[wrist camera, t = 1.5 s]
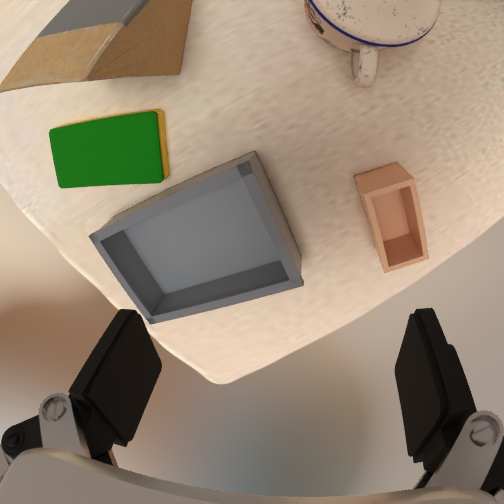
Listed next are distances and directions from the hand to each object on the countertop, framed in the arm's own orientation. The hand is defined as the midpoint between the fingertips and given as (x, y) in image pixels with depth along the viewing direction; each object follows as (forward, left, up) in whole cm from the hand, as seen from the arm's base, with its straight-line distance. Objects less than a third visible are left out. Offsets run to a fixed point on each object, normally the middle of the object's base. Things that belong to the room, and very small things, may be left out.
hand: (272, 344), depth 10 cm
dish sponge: (+16, -10, -22) cm, 29 cm away
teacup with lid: (-11, -11, -22) cm, 26 cm away
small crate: (-8, +7, -21) cm, 24 cm away
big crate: (+11, +3, -21) cm, 25 cm away
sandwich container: (+5, -21, -22) cm, 31 cm away
